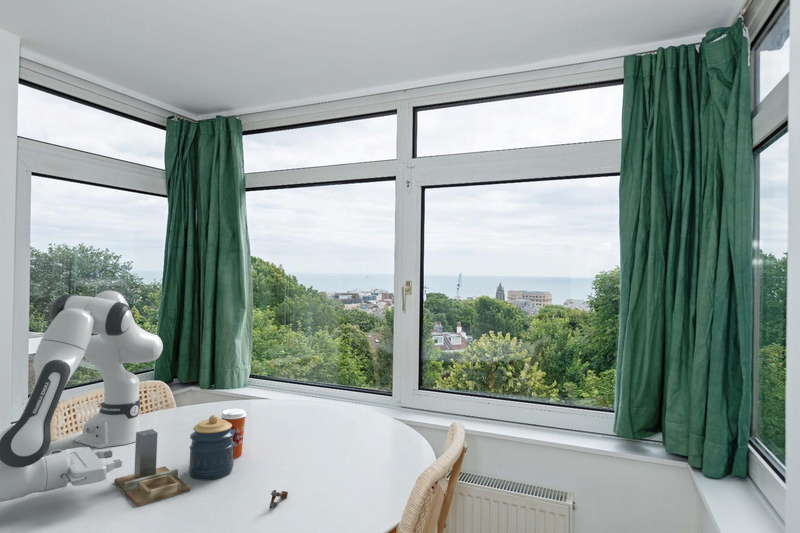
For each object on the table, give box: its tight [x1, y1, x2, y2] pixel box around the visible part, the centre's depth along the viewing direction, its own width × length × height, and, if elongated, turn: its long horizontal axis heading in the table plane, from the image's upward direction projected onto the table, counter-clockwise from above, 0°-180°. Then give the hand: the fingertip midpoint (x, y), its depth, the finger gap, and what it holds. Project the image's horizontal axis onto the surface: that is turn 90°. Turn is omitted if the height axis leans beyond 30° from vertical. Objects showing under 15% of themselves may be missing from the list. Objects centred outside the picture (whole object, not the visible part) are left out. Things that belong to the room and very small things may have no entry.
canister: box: [188, 414, 235, 481], centre depth 148 cm, size 13×13×18 cm
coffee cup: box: [220, 408, 247, 460], centre depth 162 cm, size 8×8×15 cm
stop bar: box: [133, 428, 158, 479], centre depth 141 cm, size 4×4×13 cm
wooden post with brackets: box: [269, 489, 289, 510], centre depth 128 cm, size 2×8×4 cm, turn 166°
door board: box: [114, 466, 191, 507], centre depth 137 cm, size 14×20×3 cm
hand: (116, 458), depth 136 cm, fingers open, 8 cm apart
